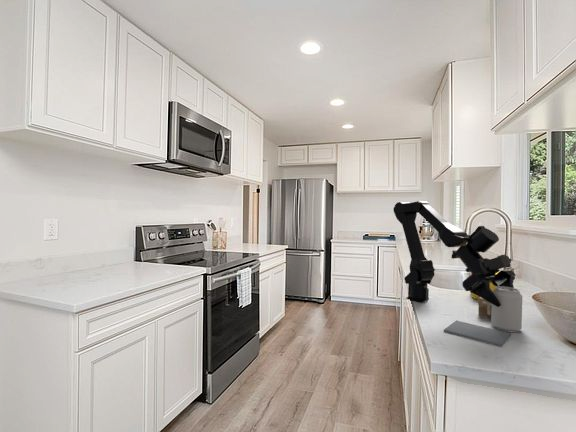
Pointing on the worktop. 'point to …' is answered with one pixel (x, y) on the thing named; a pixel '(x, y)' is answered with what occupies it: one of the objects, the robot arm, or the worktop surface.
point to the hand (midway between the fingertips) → (509, 304)
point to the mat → (478, 333)
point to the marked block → (484, 308)
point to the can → (507, 309)
